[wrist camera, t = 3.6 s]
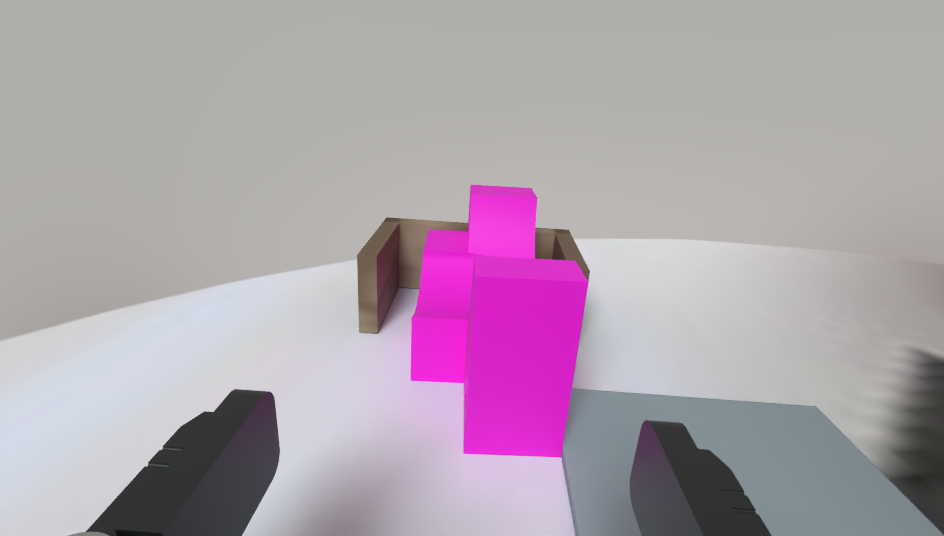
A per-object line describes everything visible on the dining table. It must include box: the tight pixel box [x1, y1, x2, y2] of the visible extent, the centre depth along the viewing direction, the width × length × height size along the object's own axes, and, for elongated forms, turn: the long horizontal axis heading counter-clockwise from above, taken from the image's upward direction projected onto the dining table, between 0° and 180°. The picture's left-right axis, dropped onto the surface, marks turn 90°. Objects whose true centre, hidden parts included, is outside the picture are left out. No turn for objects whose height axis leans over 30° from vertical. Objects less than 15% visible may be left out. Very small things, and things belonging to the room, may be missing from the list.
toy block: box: [411, 185, 588, 457], centre depth 24 cm, size 15×6×8 cm, turn 1°
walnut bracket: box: [357, 218, 590, 333], centre depth 29 cm, size 12×8×4 cm, turn 88°
